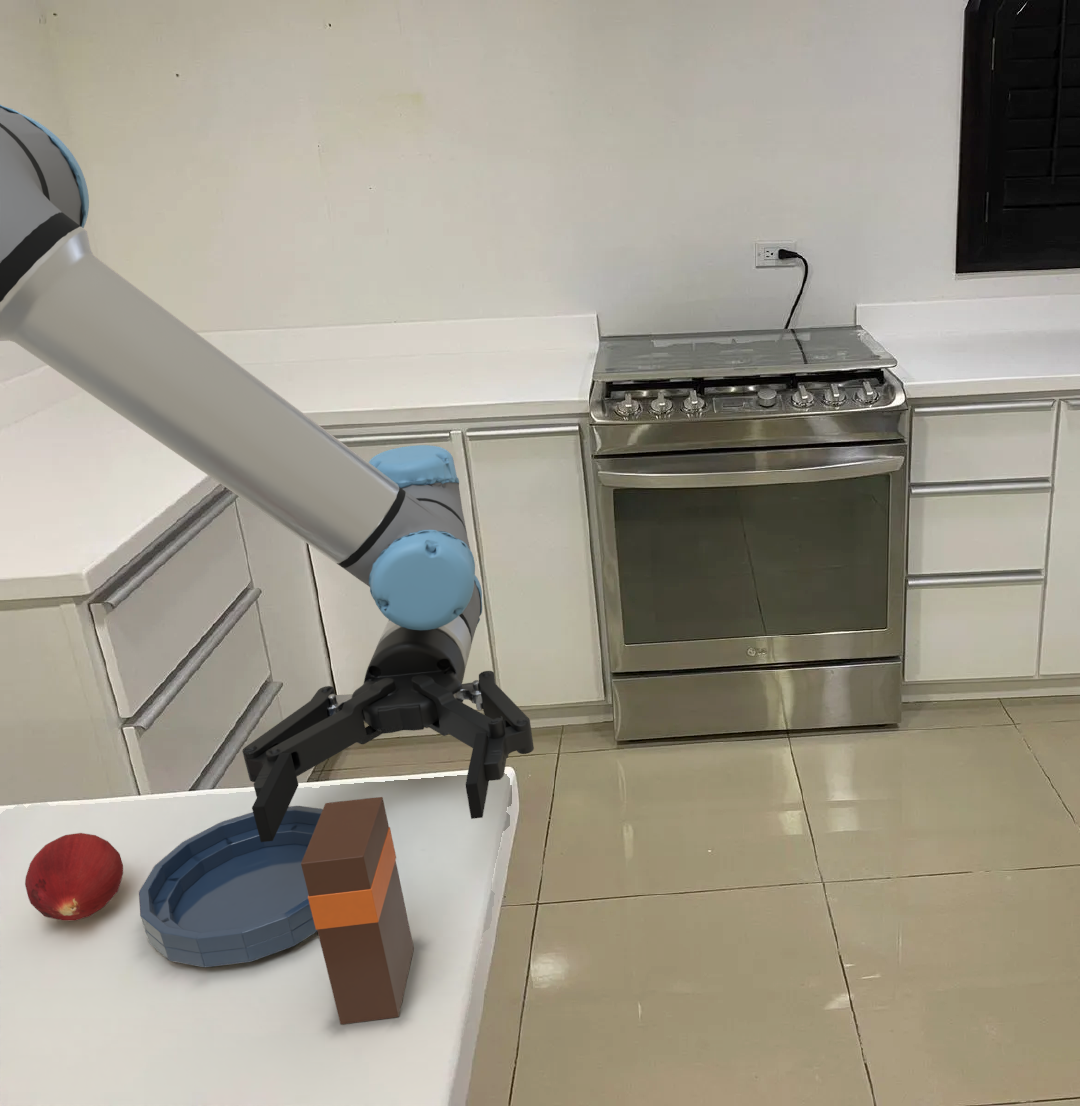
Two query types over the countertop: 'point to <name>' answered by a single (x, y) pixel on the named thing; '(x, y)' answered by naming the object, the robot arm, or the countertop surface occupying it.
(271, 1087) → the countertop surface
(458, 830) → the countertop surface
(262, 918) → the bowl
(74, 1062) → the countertop surface
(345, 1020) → the snack carton
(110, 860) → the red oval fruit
